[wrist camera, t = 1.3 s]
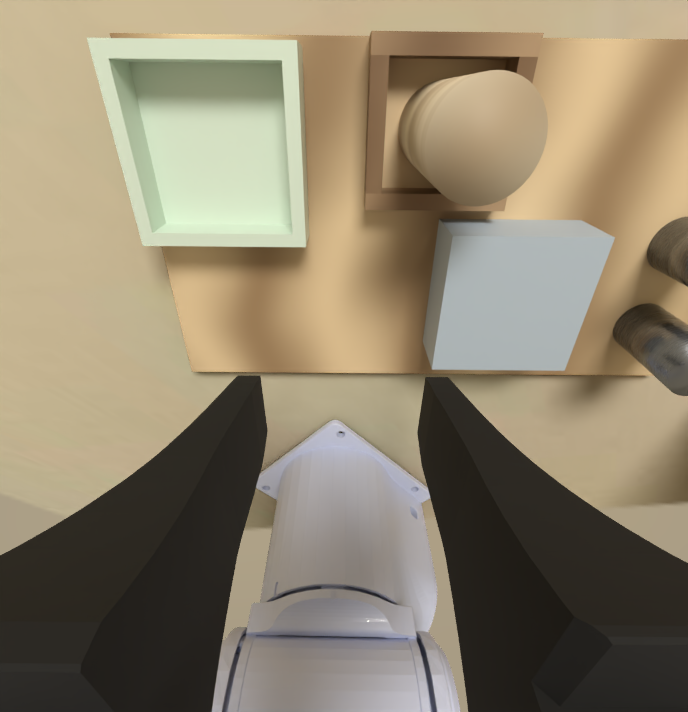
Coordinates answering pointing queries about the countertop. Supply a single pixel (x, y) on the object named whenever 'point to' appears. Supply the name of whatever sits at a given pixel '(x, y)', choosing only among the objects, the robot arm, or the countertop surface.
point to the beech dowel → (475, 135)
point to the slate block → (511, 292)
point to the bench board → (442, 202)
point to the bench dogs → (661, 315)
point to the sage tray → (209, 138)
